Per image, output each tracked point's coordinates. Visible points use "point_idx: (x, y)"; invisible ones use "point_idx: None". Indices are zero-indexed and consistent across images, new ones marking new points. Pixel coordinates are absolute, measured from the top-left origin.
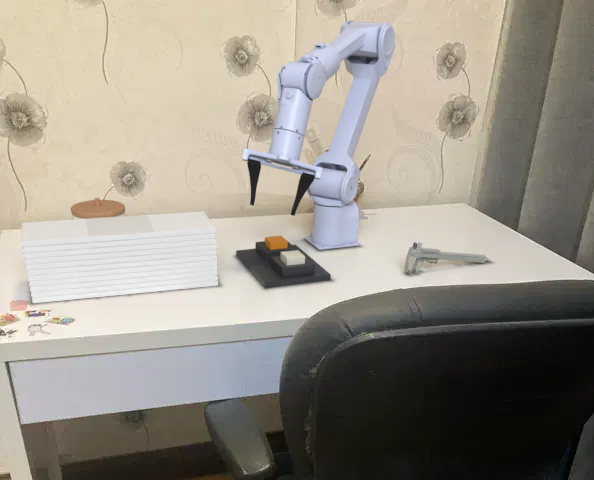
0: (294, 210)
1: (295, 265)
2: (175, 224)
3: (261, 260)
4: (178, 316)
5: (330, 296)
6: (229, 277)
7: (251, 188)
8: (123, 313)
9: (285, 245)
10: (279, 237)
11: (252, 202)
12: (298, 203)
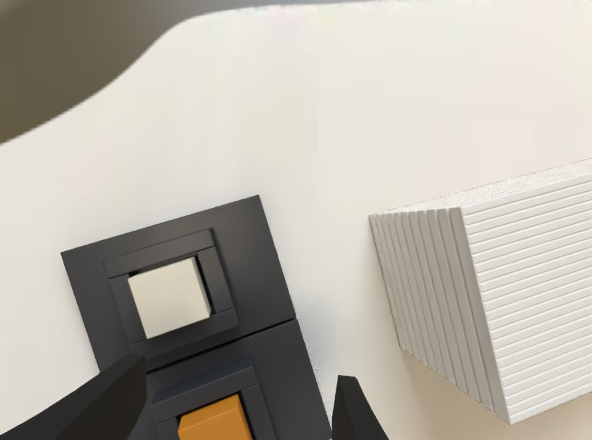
0: (121, 364)
1: (167, 251)
2: (587, 245)
3: (264, 359)
4: (438, 55)
5: (85, 138)
6: (343, 271)
7: (383, 433)
8: (533, 80)
9: (187, 419)
10: None
11: (348, 380)
12: (82, 386)
